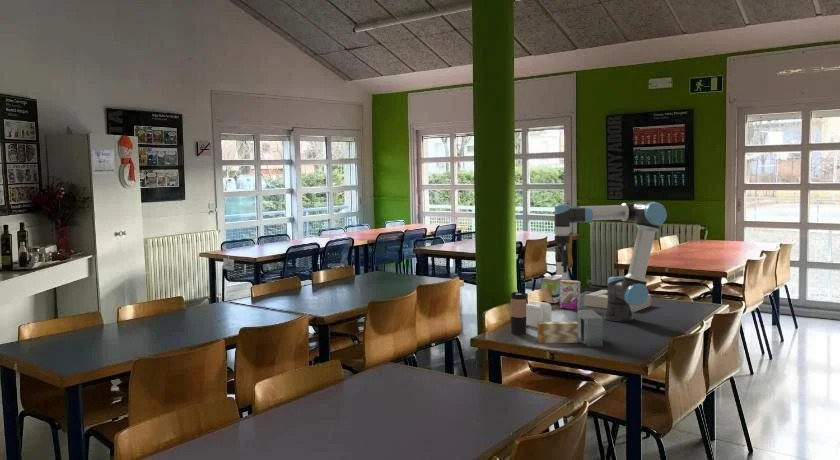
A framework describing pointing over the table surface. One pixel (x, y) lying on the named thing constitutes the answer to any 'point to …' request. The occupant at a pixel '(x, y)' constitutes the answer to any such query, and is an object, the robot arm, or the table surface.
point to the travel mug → (518, 313)
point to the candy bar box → (569, 294)
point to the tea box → (552, 286)
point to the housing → (590, 328)
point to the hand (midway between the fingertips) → (561, 276)
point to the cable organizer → (537, 313)
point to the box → (601, 300)
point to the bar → (557, 332)
